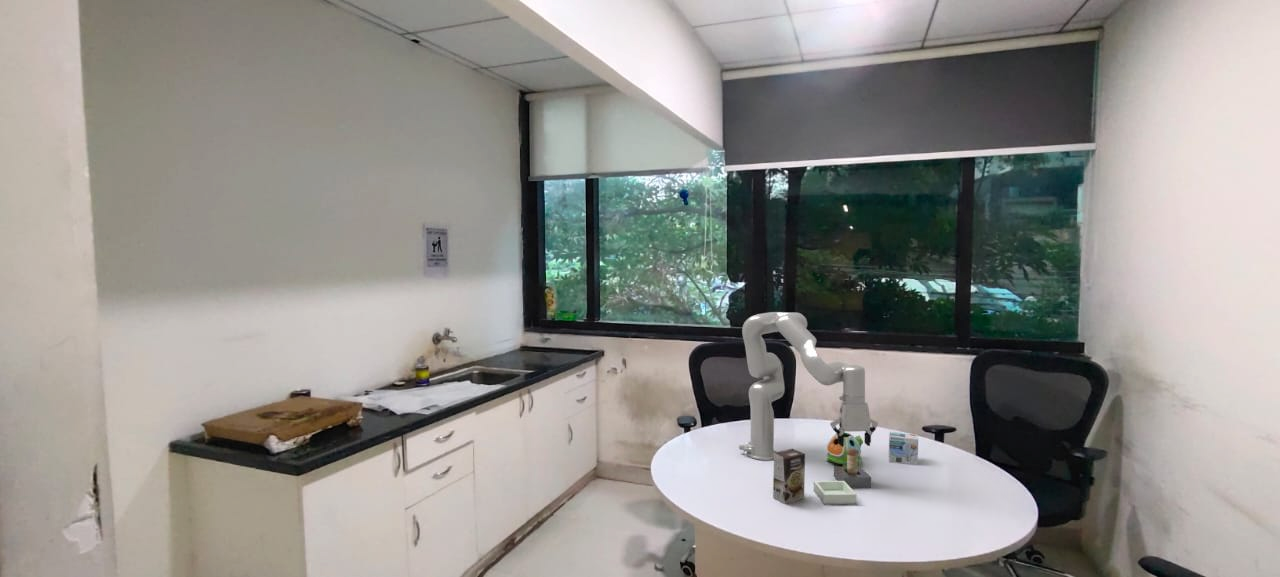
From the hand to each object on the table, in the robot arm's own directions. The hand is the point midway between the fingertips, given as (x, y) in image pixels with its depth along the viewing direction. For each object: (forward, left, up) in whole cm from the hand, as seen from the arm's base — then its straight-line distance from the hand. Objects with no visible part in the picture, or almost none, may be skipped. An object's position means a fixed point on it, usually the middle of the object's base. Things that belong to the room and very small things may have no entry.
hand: (854, 444), depth 201 cm
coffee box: (-27, -12, -15) cm, 33 cm away
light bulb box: (+29, +20, -15) cm, 38 cm away
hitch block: (0, 0, -14) cm, 14 cm away
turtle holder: (+5, +19, -15) cm, 25 cm away
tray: (-11, -12, -14) cm, 22 cm away
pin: (0, 0, -14) cm, 14 cm away
